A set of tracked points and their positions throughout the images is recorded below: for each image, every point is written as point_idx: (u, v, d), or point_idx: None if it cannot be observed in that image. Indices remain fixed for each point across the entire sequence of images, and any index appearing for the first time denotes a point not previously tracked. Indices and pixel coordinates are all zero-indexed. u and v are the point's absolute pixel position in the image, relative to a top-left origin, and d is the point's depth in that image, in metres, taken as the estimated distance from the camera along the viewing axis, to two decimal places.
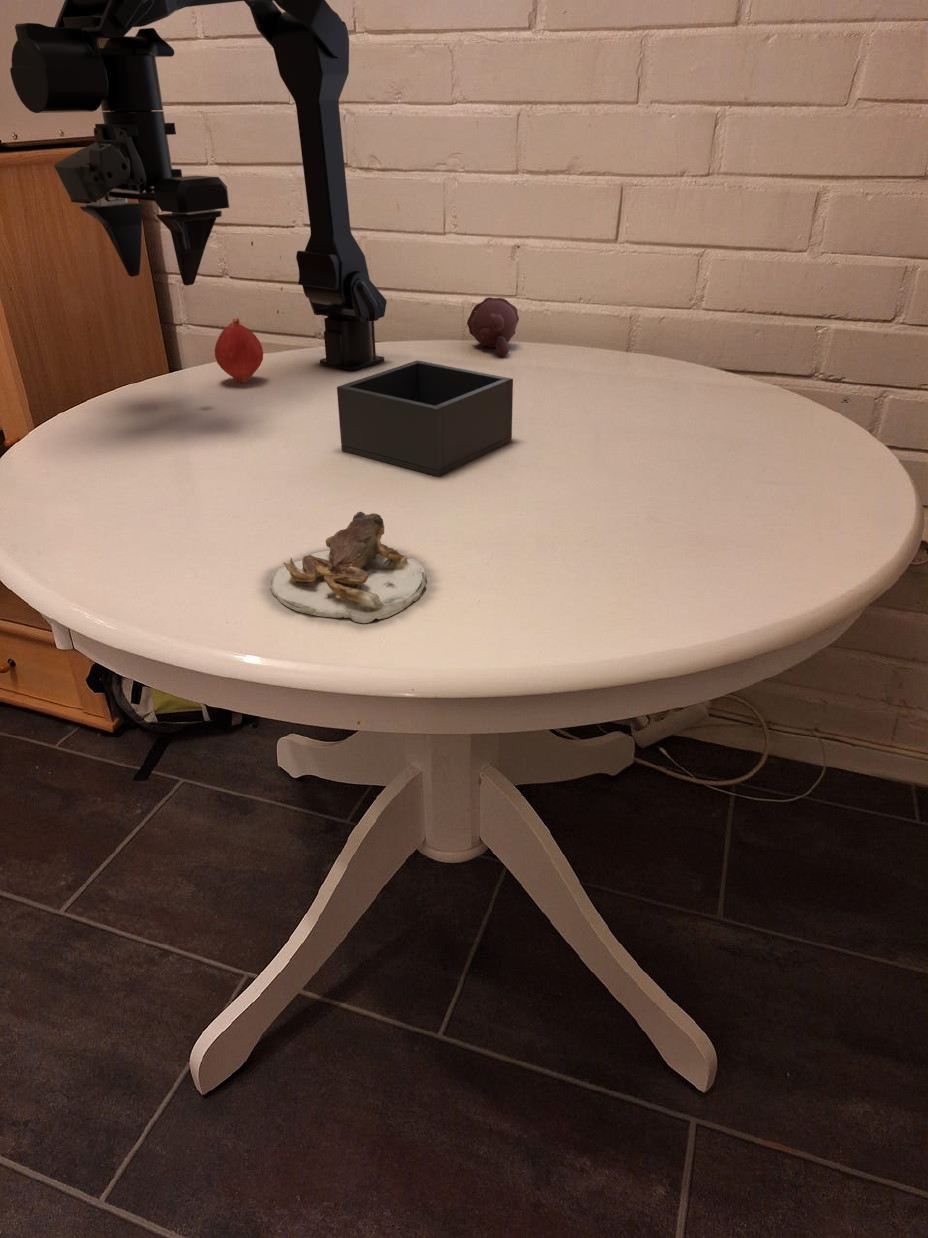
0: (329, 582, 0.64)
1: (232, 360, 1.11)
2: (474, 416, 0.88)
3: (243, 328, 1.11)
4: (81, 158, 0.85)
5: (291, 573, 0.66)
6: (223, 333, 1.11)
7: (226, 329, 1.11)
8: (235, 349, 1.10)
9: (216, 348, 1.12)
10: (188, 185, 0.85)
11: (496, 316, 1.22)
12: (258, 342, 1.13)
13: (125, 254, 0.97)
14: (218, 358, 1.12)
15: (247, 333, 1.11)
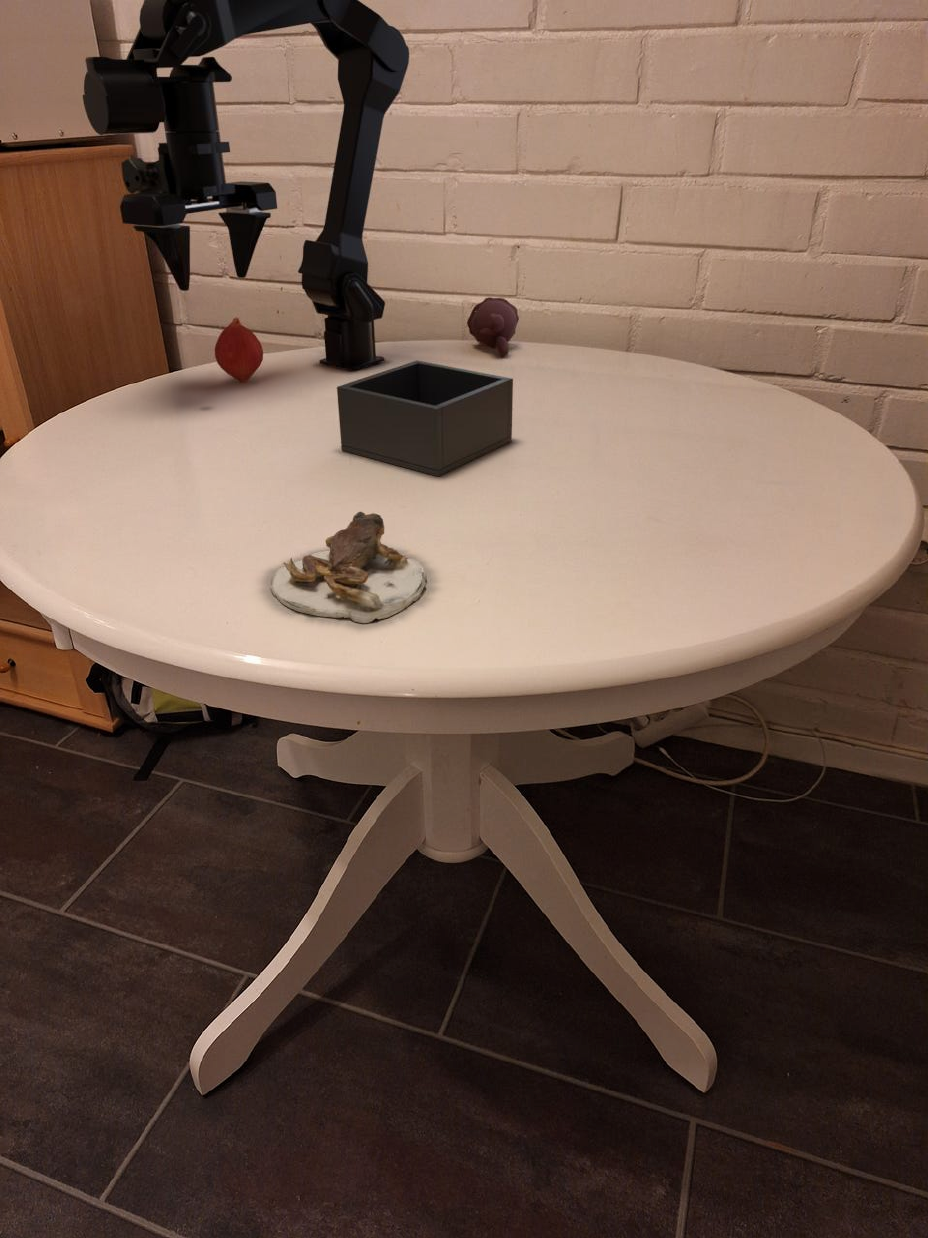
0: (329, 582, 0.64)
1: (232, 360, 1.11)
2: (474, 416, 0.88)
3: (243, 328, 1.11)
4: None
5: (291, 573, 0.66)
6: (223, 333, 1.11)
7: (226, 329, 1.11)
8: (235, 349, 1.10)
9: (216, 348, 1.12)
10: (123, 200, 0.95)
11: (496, 316, 1.22)
12: (258, 342, 1.13)
13: (234, 256, 1.08)
14: (218, 358, 1.12)
15: (247, 333, 1.11)
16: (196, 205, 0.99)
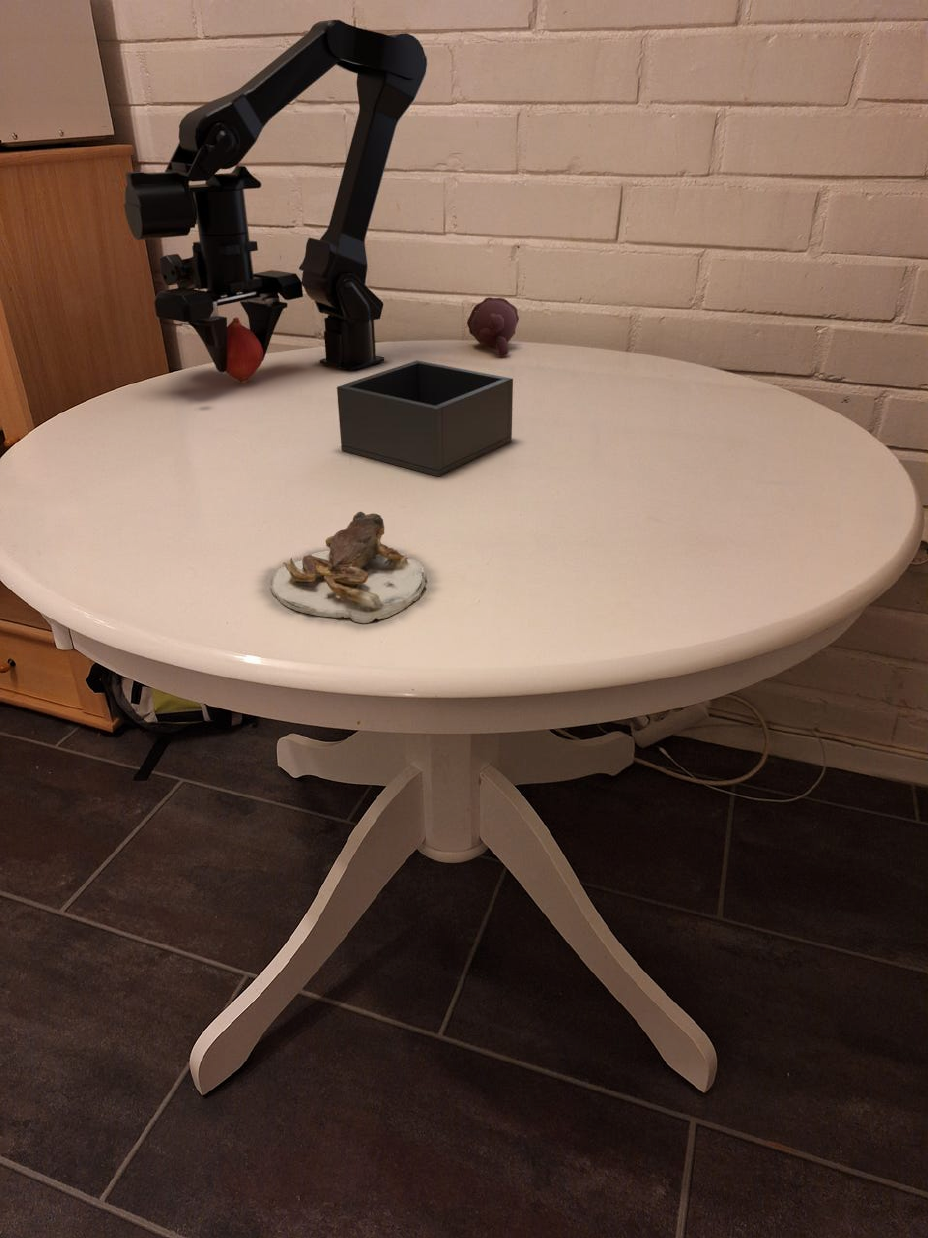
0: (329, 582, 0.64)
1: (232, 360, 1.11)
2: (474, 416, 0.88)
3: (243, 328, 1.11)
4: None
5: (291, 573, 0.66)
6: None
7: None
8: (235, 349, 1.10)
9: None
10: (157, 296, 1.04)
11: (496, 316, 1.22)
12: (258, 342, 1.13)
13: None
14: None
15: (247, 333, 1.11)
16: (234, 297, 1.08)
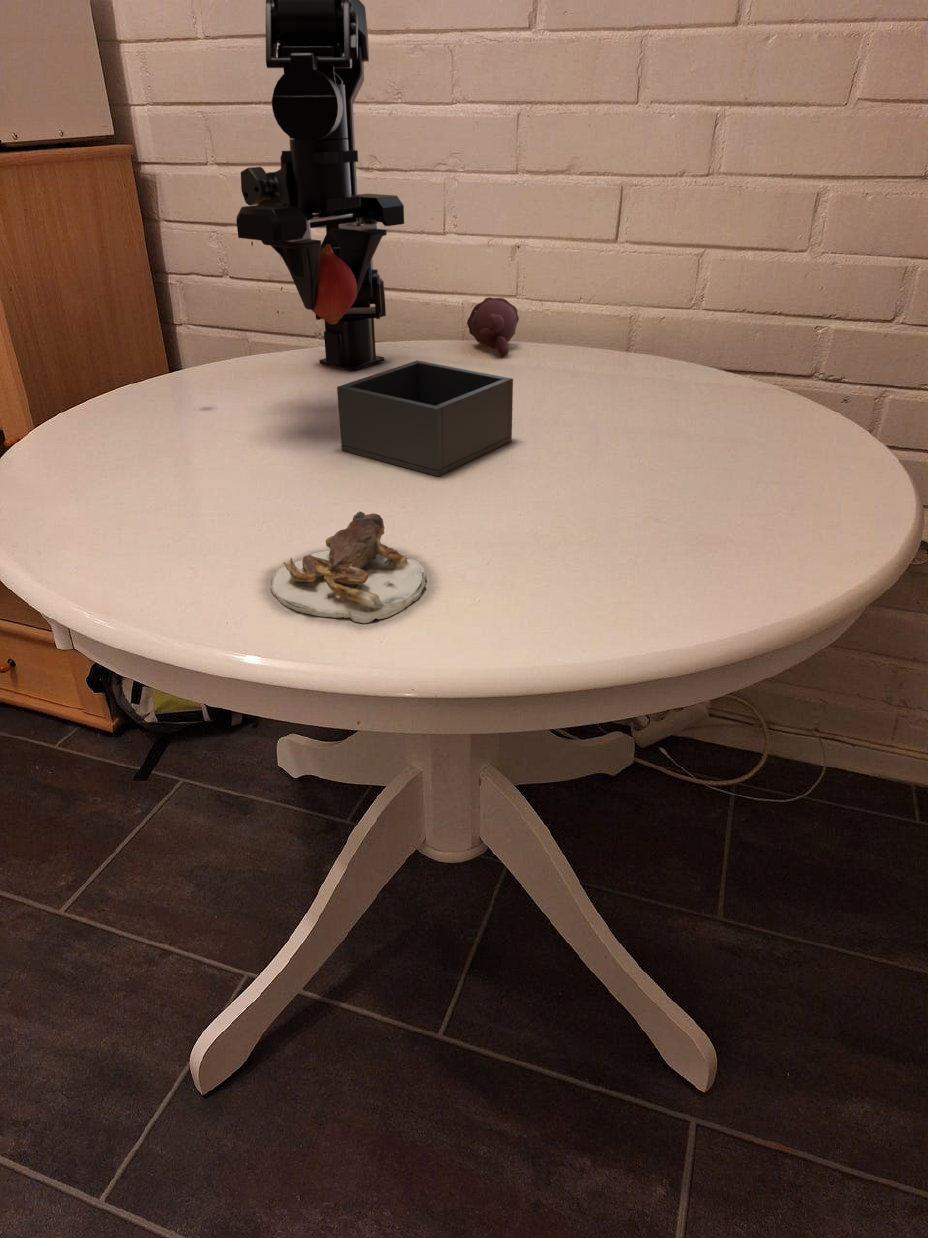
0: (329, 582, 0.64)
1: (323, 295, 0.93)
2: (474, 416, 0.88)
3: (336, 257, 0.94)
4: None
5: (291, 573, 0.66)
6: None
7: None
8: (326, 282, 0.93)
9: None
10: (241, 212, 0.87)
11: (496, 316, 1.22)
12: (352, 275, 0.95)
13: None
14: None
15: (340, 264, 0.94)
16: (329, 218, 0.91)
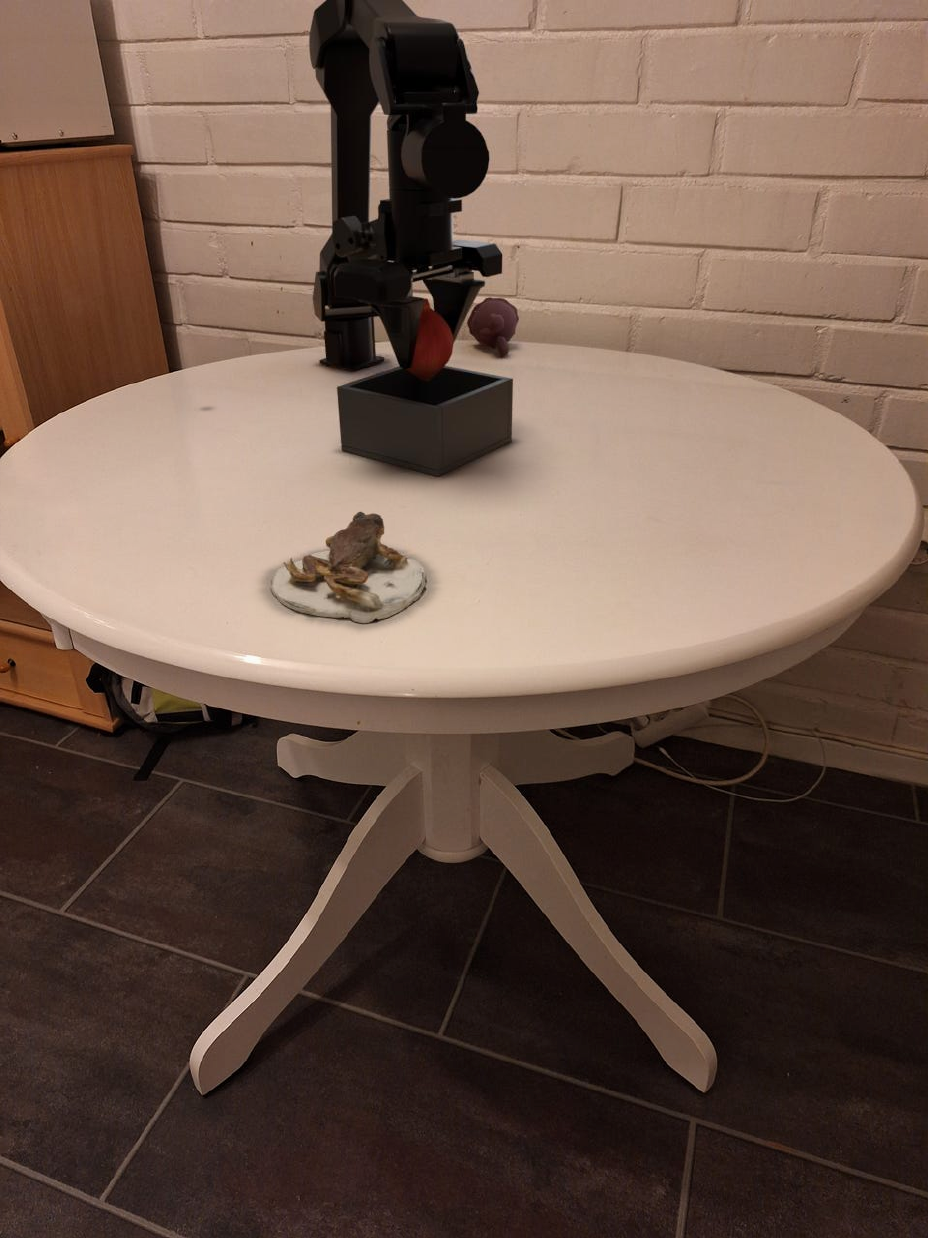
0: (329, 582, 0.64)
1: (420, 353, 0.87)
2: (474, 416, 0.88)
3: (433, 312, 0.87)
4: None
5: (291, 573, 0.66)
6: None
7: None
8: (425, 339, 0.86)
9: None
10: (340, 270, 0.80)
11: (496, 316, 1.22)
12: (450, 330, 0.88)
13: None
14: None
15: (438, 319, 0.87)
16: (430, 272, 0.84)
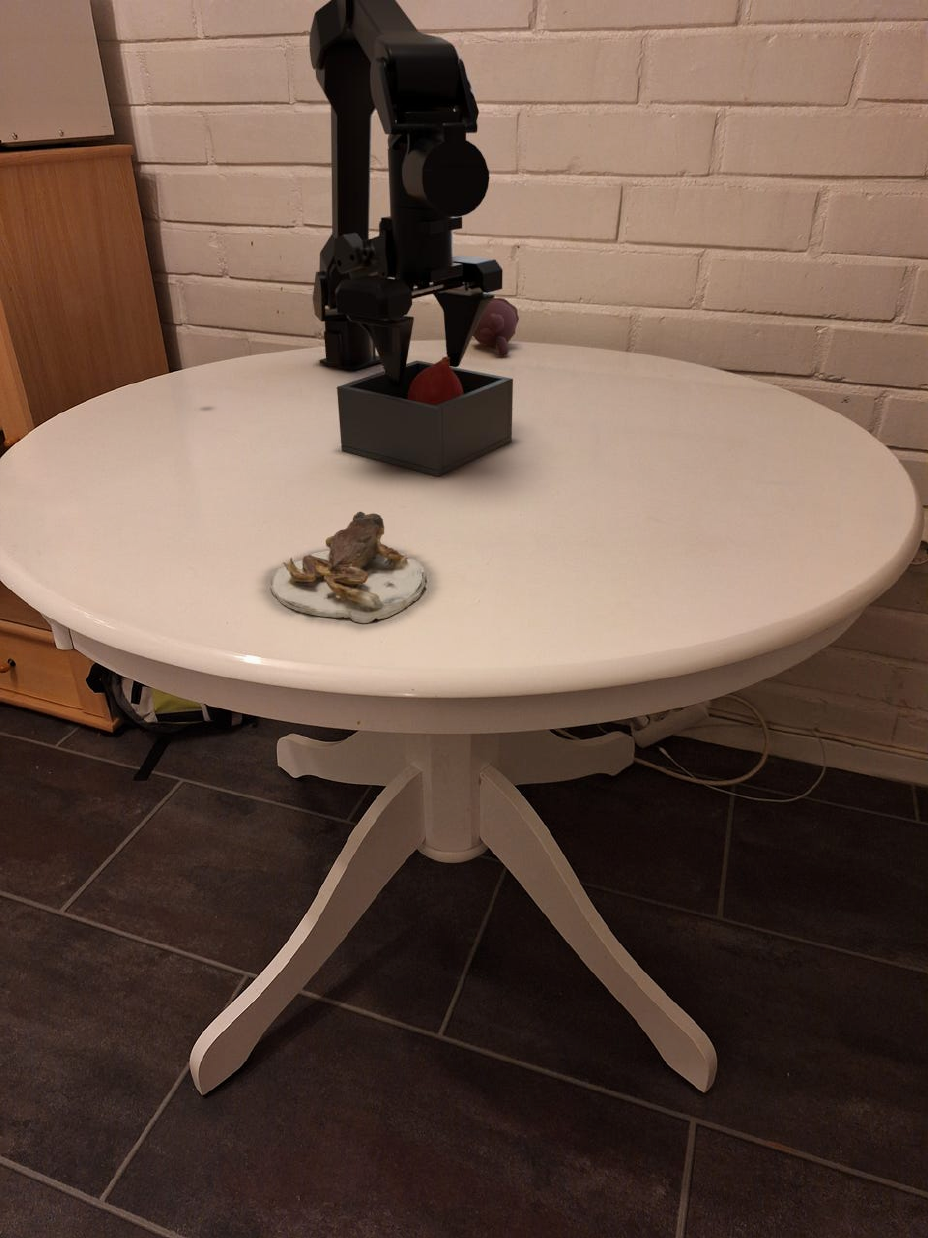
0: (329, 582, 0.64)
1: (433, 398, 0.91)
2: (474, 416, 0.88)
3: None
4: None
5: (291, 573, 0.66)
6: (428, 368, 0.92)
7: (432, 366, 0.92)
8: (440, 386, 0.91)
9: (414, 383, 0.92)
10: (341, 287, 0.80)
11: (496, 316, 1.22)
12: None
13: (447, 343, 0.93)
14: (414, 393, 0.91)
15: (455, 376, 0.92)
16: (420, 291, 0.83)
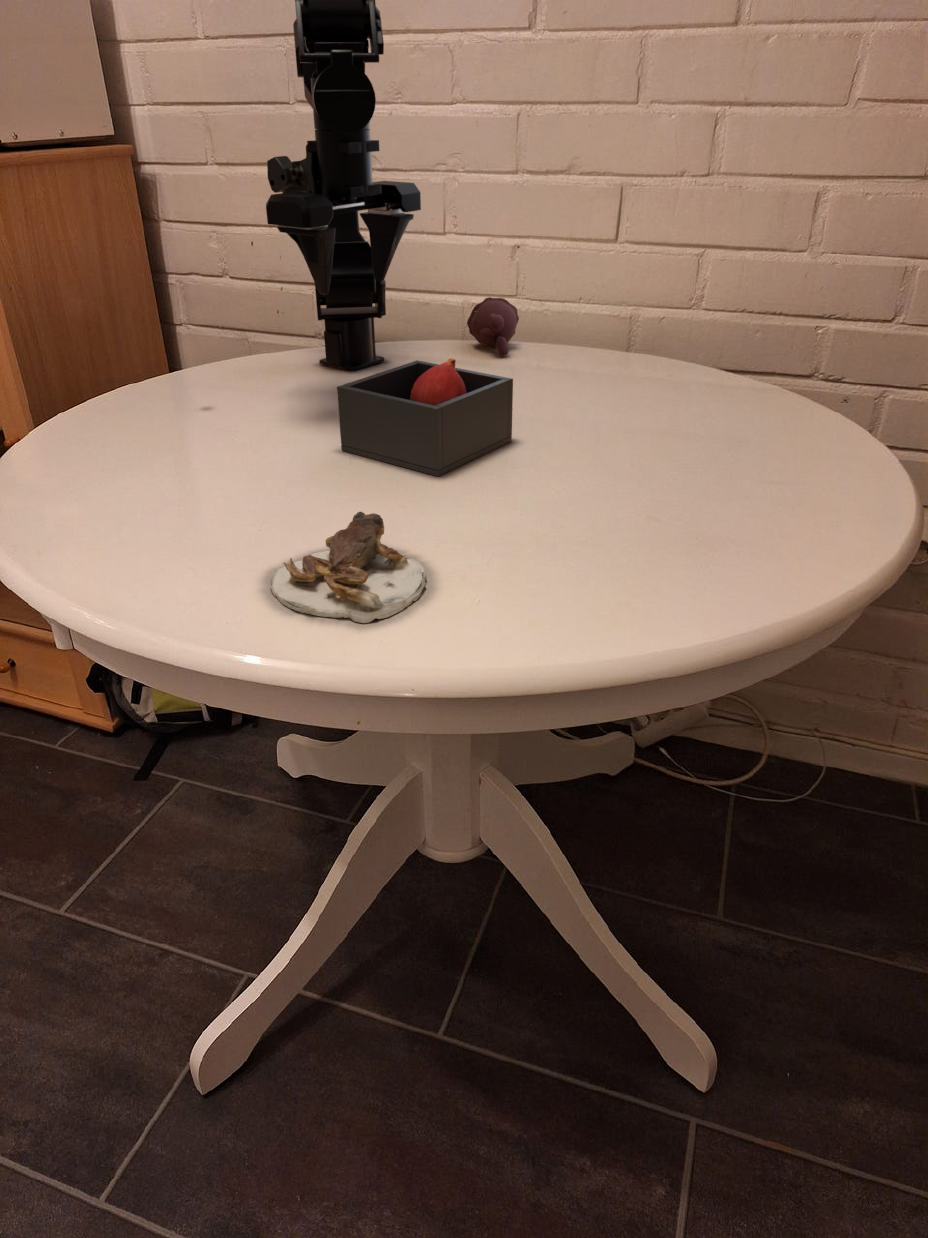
0: (329, 582, 0.64)
1: (437, 393, 0.91)
2: (474, 416, 0.88)
3: (457, 372, 0.93)
4: None
5: (291, 573, 0.66)
6: (434, 367, 0.93)
7: (438, 365, 0.93)
8: (445, 383, 0.91)
9: (419, 380, 0.92)
10: (270, 200, 0.92)
11: (496, 316, 1.22)
12: None
13: (373, 259, 1.04)
14: (418, 389, 0.92)
15: (460, 377, 0.93)
16: (342, 206, 0.95)
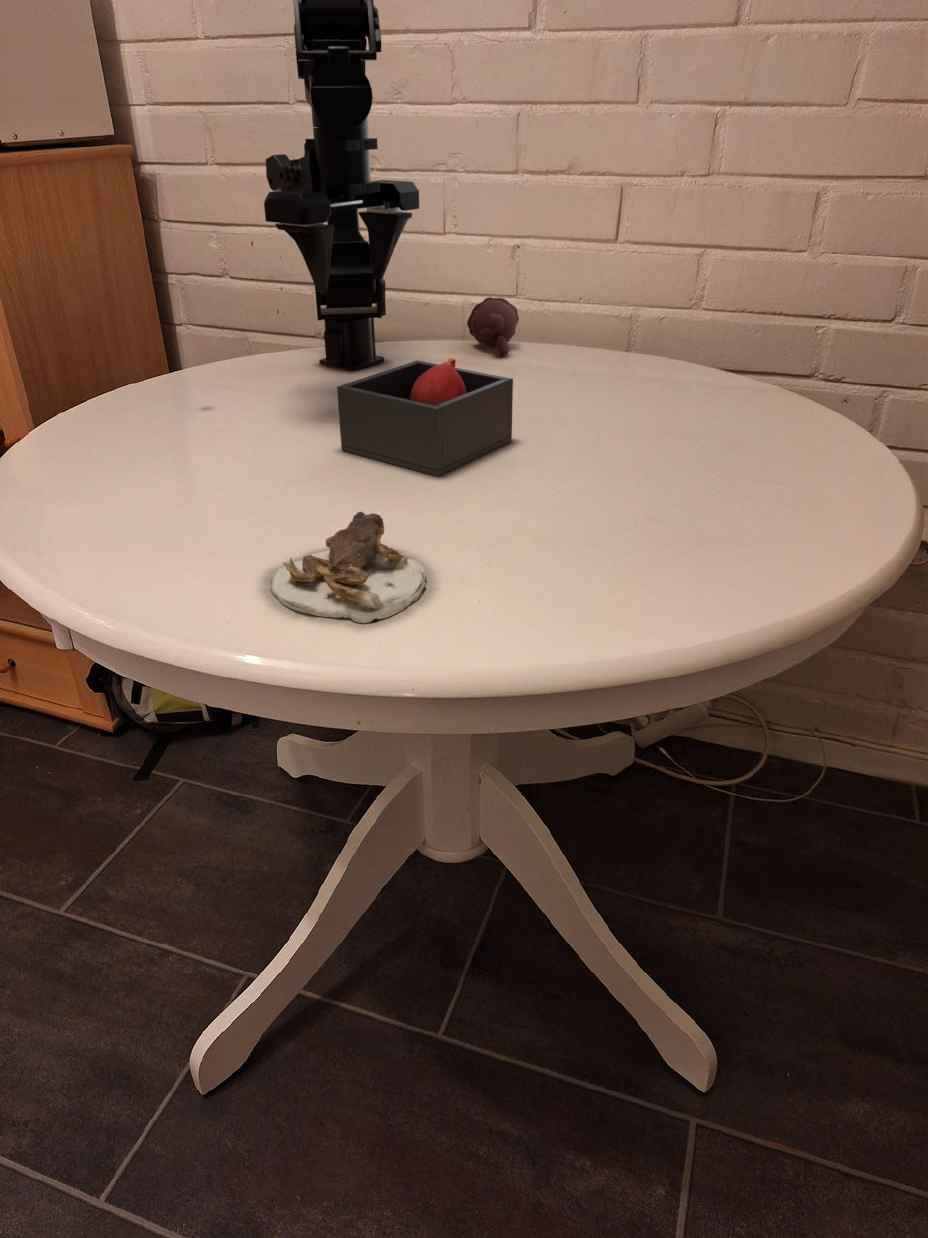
0: (329, 582, 0.64)
1: (437, 393, 0.91)
2: (474, 416, 0.88)
3: (457, 372, 0.93)
4: None
5: (291, 573, 0.66)
6: (434, 367, 0.93)
7: (438, 365, 0.93)
8: (445, 383, 0.91)
9: (419, 380, 0.92)
10: (268, 197, 0.92)
11: (496, 316, 1.22)
12: None
13: (372, 258, 1.04)
14: (418, 389, 0.92)
15: (460, 377, 0.93)
16: (340, 204, 0.95)
